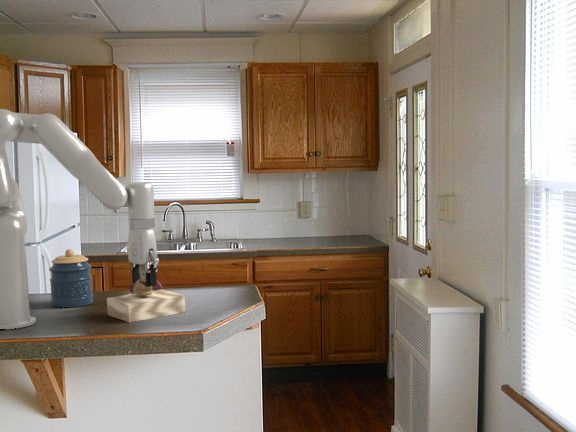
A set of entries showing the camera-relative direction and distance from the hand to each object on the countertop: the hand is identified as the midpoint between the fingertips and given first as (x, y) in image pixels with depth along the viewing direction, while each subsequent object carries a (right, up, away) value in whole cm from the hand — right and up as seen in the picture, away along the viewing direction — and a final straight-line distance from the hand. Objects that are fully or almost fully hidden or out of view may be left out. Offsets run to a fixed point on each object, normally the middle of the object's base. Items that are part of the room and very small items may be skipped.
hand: (144, 283), depth 213 cm
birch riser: (0, -9, +1) cm, 9 cm away
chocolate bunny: (0, -3, 0) cm, 3 cm away
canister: (-27, -8, +19) cm, 34 cm away
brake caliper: (-3, -8, +16) cm, 18 cm away
